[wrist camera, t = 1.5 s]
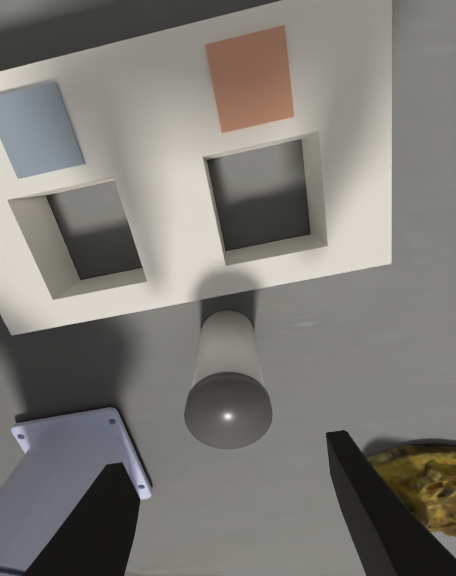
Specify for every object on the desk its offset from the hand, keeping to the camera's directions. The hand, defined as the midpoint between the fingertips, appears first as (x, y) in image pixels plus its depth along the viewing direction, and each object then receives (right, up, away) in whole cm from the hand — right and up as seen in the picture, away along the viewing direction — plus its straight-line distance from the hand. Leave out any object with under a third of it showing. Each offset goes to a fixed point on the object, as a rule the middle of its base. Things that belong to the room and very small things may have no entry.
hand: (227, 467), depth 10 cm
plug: (0, +3, +9) cm, 10 cm away
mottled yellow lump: (+17, -10, +15) cm, 25 cm away
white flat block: (-3, +12, +6) cm, 13 cm away
